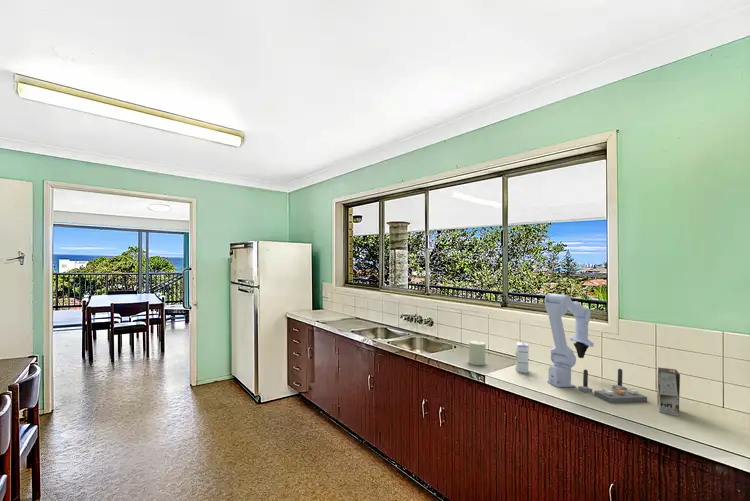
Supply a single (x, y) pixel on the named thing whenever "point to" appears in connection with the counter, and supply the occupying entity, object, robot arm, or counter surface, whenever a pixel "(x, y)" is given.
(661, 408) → the coffee box
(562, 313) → the robot arm
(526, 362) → the syrup box
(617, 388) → the middle paddle
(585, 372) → the grey peg stand
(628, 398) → the switch panel
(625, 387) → the grey post with base
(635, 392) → the right paddle
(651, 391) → the counter surface
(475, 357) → the can
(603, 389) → the left paddle
